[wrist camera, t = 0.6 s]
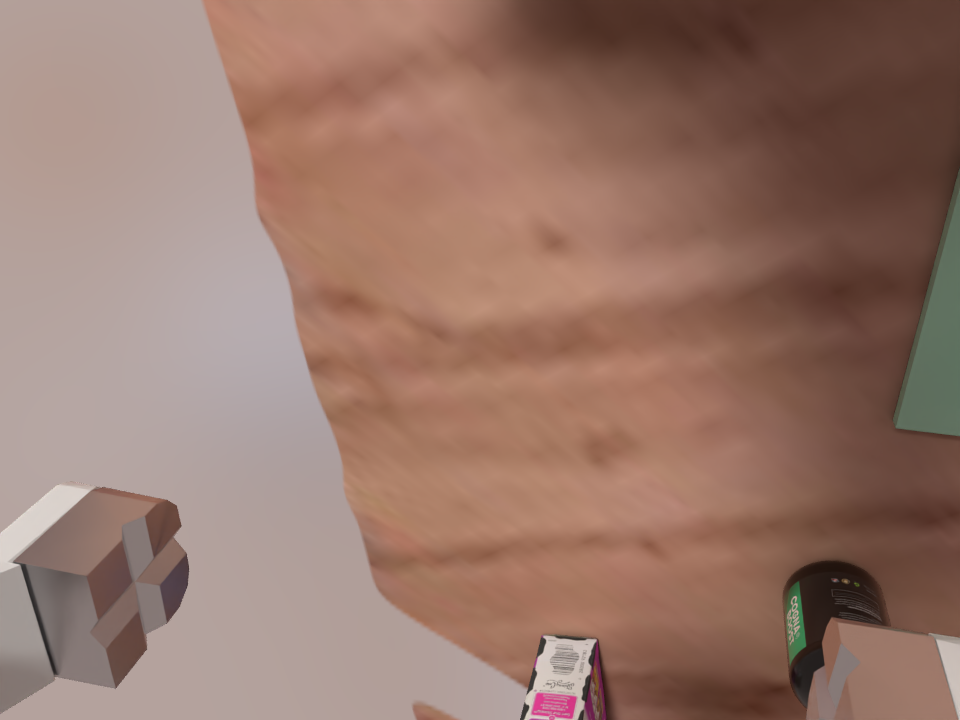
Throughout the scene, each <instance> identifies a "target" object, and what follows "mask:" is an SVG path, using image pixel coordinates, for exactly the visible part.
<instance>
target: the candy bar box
mask: <svg viewBox="0 0 960 720" xmlns="http://www.w3.org/2000/svg"><path fill="white" fill-rule="evenodd" d="M520 720H607V715H606V707H605V699H604V691H603V684H602V675H601V666H600V658H599V649H598V641H597V639H596V638H588V637H572V636H561V635H545V634H544V635H542V636H541V640H540V645H539V648H538V653H537V657H536V660H535V664H534V668H533V672H532V676H531V680H530V684H529V688H528V691H527V695H526V699H525V702H524V707H523V710H522V715H521V718H520Z"/></svg>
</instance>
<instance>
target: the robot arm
mask: <svg viewBox="0 0 960 720" xmlns="http://www.w3.org/2000/svg"><path fill="white" fill-rule="evenodd" d="M180 527H181V522H180V518H179V514H178V509H177V506H176V505H175V504H173V503H171V502H170V501H168V500H165V499H160V498H154V497H150V496H145V495H140V494H135V493H130V492H125V491H120V490H116V489H111V488H106V487H102V488H101V487H97V486H92V485H87V484H82V483H78V482H73V481H70V482H66V483H62V484H58V485H57V486H56V487H54V488H53V489H52V490H51V491H50V492H48V493H47V494H46V495H45V496H44V497H43V498H41V499H40V500H39V501H38V502H37V503H35V504H34V505H33V506H32V507H31V508H30V509H28V510H27V511H26V512H25V513H24V514H23V515H21V516H20V517H19V518H18V519H17V520H15V521H14V522H13V523H12V524H11V525H10V526H8V527H7V528H6V529H5V530H4V531H2V532H1V533H0V714H1V713H3V712H4V711H6V710H8V709H9V708H11V707H12V706H14V705H16V704H17V703H19V702H21V701H22V700H24V699H25V698H27V697H29V696H30V695H32V694H34V693H35V692H37V691H39V690H40V689H42V688H43V687H45V686H47V685H48V684H50V683H52V682H53V681H54V680H55V677H59V678H64V679H69V680H74V681H80V682H84V683H90V684H95V685H100V686H105V687H110V688H117V686H118V685H119V684H120V683H121V681H122V680H123V679H124V678H125V676H126V675H127V674H128V672H129V671H130V670H131V669H132V667H133V666H134V665H135V664H136V662H137V661H138V660H139V659H140V657H141V656H142V655H143V654H144V652H145V651H146V650H147V637H146V634H147V633H149V632H151V631H153V630H155V629H157V628H159V627H161V626H163V625H165V624H167V623H168V621H169V620H170V619H171V618H172V616H173V615H174V613H175V612H176V611H177V610H178V608H179V607H180V604H181V602H182V599H183V596H184V594H185V591H186V589H187V586H188V575H189V565H188V559H187V554H186V552H185V551H184V549H183V548H182V547H181V546H180V545H179V543H178V542H177V541H176V540H175V539H174V536H175V535H176V533H177V532H178V530H179V529H180ZM822 647H823V655H824V663H825V666H823V667H821V668H820V669H818V670H817V671H815V672H814V675H813V679H812V684H811V688H810V692H809V699H808V708H807V717H806V720H960V638H958V637H952V636H946V635H939V634H933V633H929V634H926V633H922V632H916V631H910V630H904V629H898V628H892V627H887V626H881V625H875V624H869V623H863V622H857V621H851V620H845V619H839V618H833V617H832V618H831V620H830V621H829V623H828V625H827V627H826V631H825V634H824V638H823V641H822Z"/></svg>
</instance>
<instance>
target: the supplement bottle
mask: <svg viewBox="0 0 960 720" xmlns="http://www.w3.org/2000/svg"><path fill="white" fill-rule="evenodd" d="M783 613H784V624H785V635H786V646H787V658H788V669H789V678H790V684H791V687H792V690H793V692H794V694H795V696H796V697H797V699H798V700H799V701H800V703H801V704H802V705H803V706H804V707H805V708H806V709H807V708H808V699H809V692H810V688H811V684H812V679H813V675H814V672H815V671H817V670H818V669H820V668H821V667H823V666H825V663H824V655H823V647H822V641H823V638H824V634H825V631H826V627H827V625H828V623H829V621H830V620H831V618H832V617H833V618H839V619H845V620H851V621H857V622H863V623H869V624H875V625H881V626H887V627H891V625H890V621H889V617H888V613H887V608H886V604H885V600H884V596H883V593H882V590H881V588H880V586H879V584H878V583H877V582H876V580H875V579H874V578H873V577H872V576H871V575H870V574H869V573H867V572H866V571H864V570H863V569H861V568H859V567H857V566H855V565H852V564H849V563H846V562H841V561H820V562H815V563H812V564H809V565H806V566H804V567H802V568H801V569H799V570H798V571H796V572H795V573H794V574H793V575H792V576H791V577H790V578H789V580H788V581H787V583H786V585H785V587H784V590H783Z"/></svg>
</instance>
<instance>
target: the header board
mask: <svg viewBox="0 0 960 720" xmlns="http://www.w3.org/2000/svg"><path fill="white" fill-rule="evenodd" d="M893 422H894V425H895V428H898V429H906V430H914V431H922V432H930V433H938V434H946V435H954V436H960V168H959V171H958V175H957V179H956V183H955V187H954V190H953V194H952V198H951V202H950V206H949V209H948V213H947V217H946V221H945V224H944V228H943V232H942V236H941V240H940V243H939V247H938V251H937V255H936V259H935V262H934V266H933V270H932V274H931V278H930V281H929V285H928V289H927V293H926V296H925V300H924V304H923V308H922V312H921V315H920V319H919V323H918V327H917V331H916V334H915V338H914V342H913V346H912V349H911V353H910V357H909V361H908V365H907V368H906V372H905V376H904V380H903V384H902V387H901V391H900V395H899V399H898V403H897V406H896V410H895V414H894V418H893Z"/></svg>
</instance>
